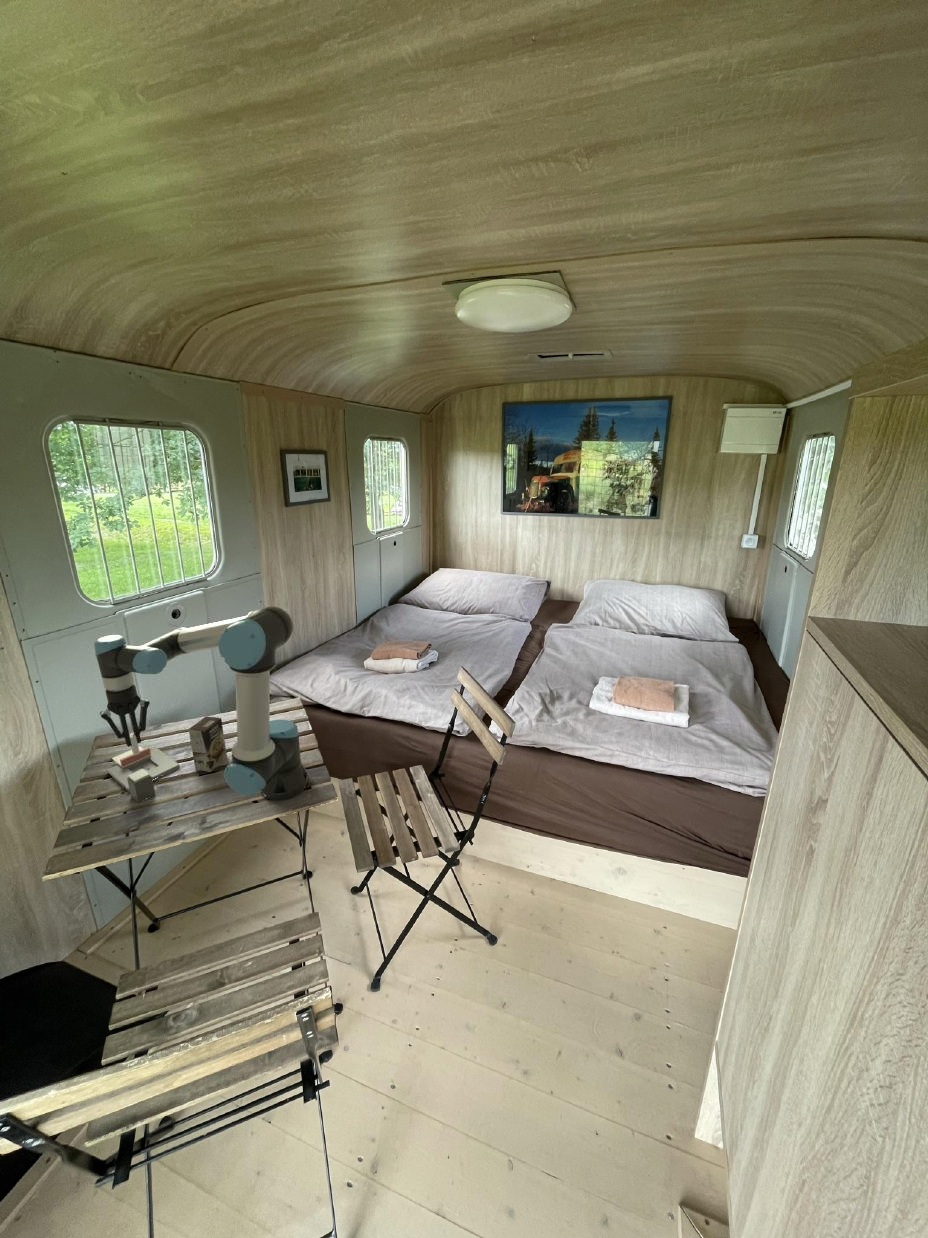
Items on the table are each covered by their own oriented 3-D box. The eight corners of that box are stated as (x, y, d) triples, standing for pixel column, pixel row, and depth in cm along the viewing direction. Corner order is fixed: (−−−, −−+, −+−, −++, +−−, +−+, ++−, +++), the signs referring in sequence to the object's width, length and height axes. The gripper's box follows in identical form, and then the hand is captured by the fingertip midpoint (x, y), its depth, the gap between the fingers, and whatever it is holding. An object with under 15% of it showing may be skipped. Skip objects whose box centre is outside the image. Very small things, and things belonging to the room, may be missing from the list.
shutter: (151, 755, 176) (149, 748, 175) (122, 768, 169) (121, 760, 168) (140, 747, 180) (138, 740, 179) (112, 759, 173) (110, 752, 172)
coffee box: (211, 772, 171) (204, 731, 166) (194, 769, 172) (187, 729, 167) (228, 756, 180) (222, 717, 174) (212, 754, 181) (205, 715, 175)
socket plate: (179, 767, 173) (179, 764, 172) (129, 792, 160) (128, 788, 160) (157, 751, 181) (156, 747, 181) (107, 773, 169) (106, 769, 168)
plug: (155, 794, 160) (150, 773, 157) (138, 803, 156) (133, 782, 153) (148, 788, 163) (143, 767, 160) (131, 796, 159) (126, 775, 156)
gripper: (141, 675, 156) (155, 740, 164) (91, 688, 148) (108, 756, 156) (148, 683, 151) (162, 749, 159) (96, 697, 143) (114, 767, 151)
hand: (136, 752), depth 157 cm, fingers closed
